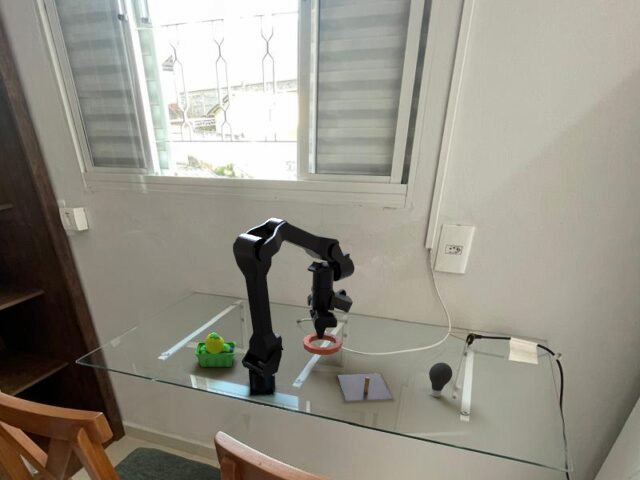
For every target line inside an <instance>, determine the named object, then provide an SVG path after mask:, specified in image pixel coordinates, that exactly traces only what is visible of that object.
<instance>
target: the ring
mask: <svg viewBox="0 0 640 480" xmlns="http://www.w3.org/2000/svg"><path fill="white" fill-rule="evenodd" d="M315 341H327V342H331V343H332V344H333V345H330V346H318V345H313V344H312V342H315ZM302 346H303V349H304V351H306V352H308V353H309V354H314V355H317V356H331V355H333V354H336V353H339V351H340V350H341V349H342V347H343V342H342V339H341V337H339V336H337V335H336V334H333V333H328V332H325V333H324V336H323V339H319V338H318V336H317V333H316V332H313V333H311V334H308V335H306V336H305V337H304V338H303V339H302Z"/></svg>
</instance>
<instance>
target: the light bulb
mask: <svg viewBox="0 0 640 480" xmlns="http://www.w3.org/2000/svg"><path fill="white" fill-rule="evenodd" d="M428 377H429V381H430V383H431V384H430V385H431V390H430V395H431V396H432V397H434V398H439V397H440V396H441V394H442V391H443V389H444V387H445V386H446V385H447V384H448V383H449V382H450V381H451V380H452V378H453V369H452V367H451V366H450V365H449V364H448V363H446V362H437V363H435V364H433V365H432V366H431V368H429V372H428Z"/></svg>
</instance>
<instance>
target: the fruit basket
mask: <svg viewBox="0 0 640 480" xmlns="http://www.w3.org/2000/svg"><path fill="white" fill-rule="evenodd" d="M235 351H236V342H235V341H224V338H223V337H221V335H218V333H216V332H211V333H209V334H207V336H206V338H205V341H200V342H197V345H196V348H195V352H194V355H195V357H196V358H197V360H198V363H199V364H200V367H201V368H214V367H215V368H225V367H226V368H231V367H232V366H233V360H234V356H235Z"/></svg>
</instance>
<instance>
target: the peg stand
mask: <svg viewBox="0 0 640 480" xmlns="http://www.w3.org/2000/svg"><path fill="white" fill-rule="evenodd" d="M337 377H338V381H339V384H340V387H341V391H342V393H343V396H344V400H345V401H346V402H349V401H350V402H353V401H377V400H378V401H379V400H393V397H392V395H391V393H390V391H389V389H388V386H387V384H386V382H385V381H384V378H383V377H382V374H381V373H357V374H356V373H355V374H337Z"/></svg>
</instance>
